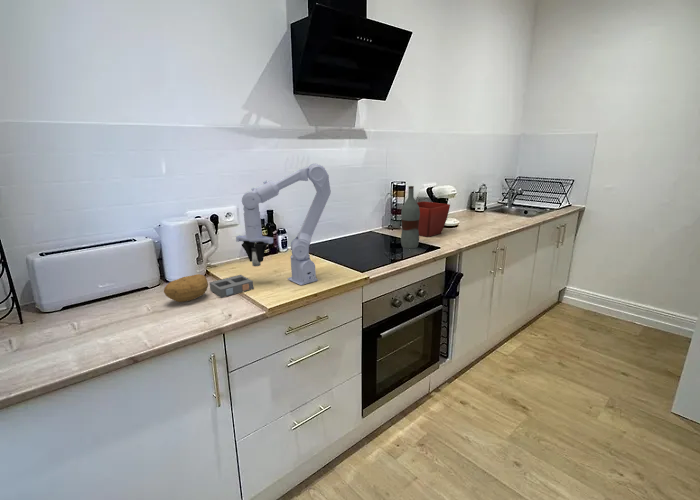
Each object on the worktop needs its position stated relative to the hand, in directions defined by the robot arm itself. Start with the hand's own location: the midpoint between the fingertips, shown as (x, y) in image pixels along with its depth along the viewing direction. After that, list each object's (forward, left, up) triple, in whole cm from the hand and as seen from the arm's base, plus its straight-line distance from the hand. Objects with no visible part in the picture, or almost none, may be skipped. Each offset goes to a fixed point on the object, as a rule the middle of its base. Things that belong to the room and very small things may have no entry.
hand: (256, 261), depth 138 cm
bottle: (-5, -81, -9) cm, 82 cm away
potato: (+2, +25, -9) cm, 27 cm away
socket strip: (+1, +10, -9) cm, 13 cm away
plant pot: (+7, -109, -9) cm, 110 cm away
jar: (0, 0, -2) cm, 2 cm away
